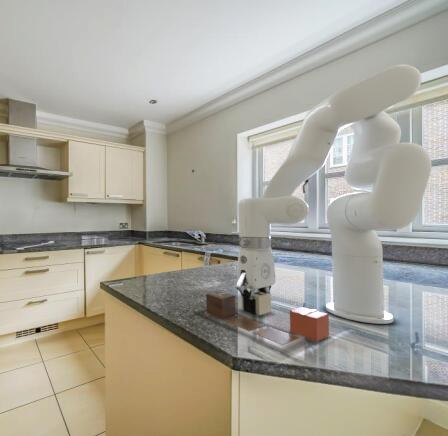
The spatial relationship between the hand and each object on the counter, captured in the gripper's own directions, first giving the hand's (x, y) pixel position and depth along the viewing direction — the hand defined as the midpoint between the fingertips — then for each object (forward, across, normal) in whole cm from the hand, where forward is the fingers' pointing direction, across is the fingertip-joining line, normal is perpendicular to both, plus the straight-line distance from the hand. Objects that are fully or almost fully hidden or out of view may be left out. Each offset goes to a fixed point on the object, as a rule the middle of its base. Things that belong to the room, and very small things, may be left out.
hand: (256, 310), depth 66 cm
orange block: (+1, -3, -14) cm, 14 cm away
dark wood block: (0, -10, +3) cm, 11 cm away
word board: (+1, -10, -4) cm, 11 cm away
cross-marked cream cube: (0, 0, 0) cm, 0 cm away
